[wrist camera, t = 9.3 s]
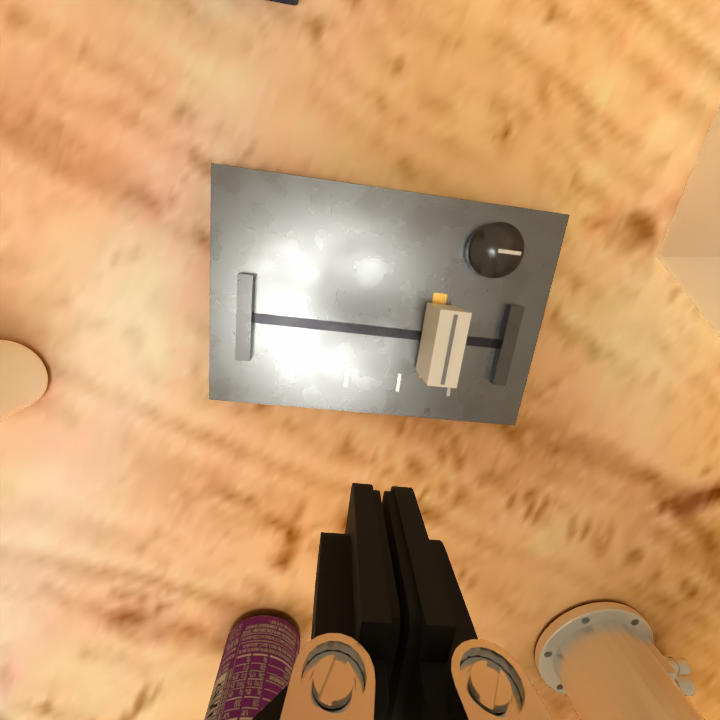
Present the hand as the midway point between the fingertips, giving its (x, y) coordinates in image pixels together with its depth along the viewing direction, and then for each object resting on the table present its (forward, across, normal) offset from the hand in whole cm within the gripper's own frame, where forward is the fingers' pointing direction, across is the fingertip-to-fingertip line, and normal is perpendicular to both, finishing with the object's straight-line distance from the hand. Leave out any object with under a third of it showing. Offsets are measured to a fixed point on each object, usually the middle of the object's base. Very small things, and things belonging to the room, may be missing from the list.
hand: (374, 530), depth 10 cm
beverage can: (+20, +5, +30) cm, 36 cm away
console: (+19, -2, -4) cm, 20 cm away
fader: (+17, -6, -2) cm, 18 cm away
